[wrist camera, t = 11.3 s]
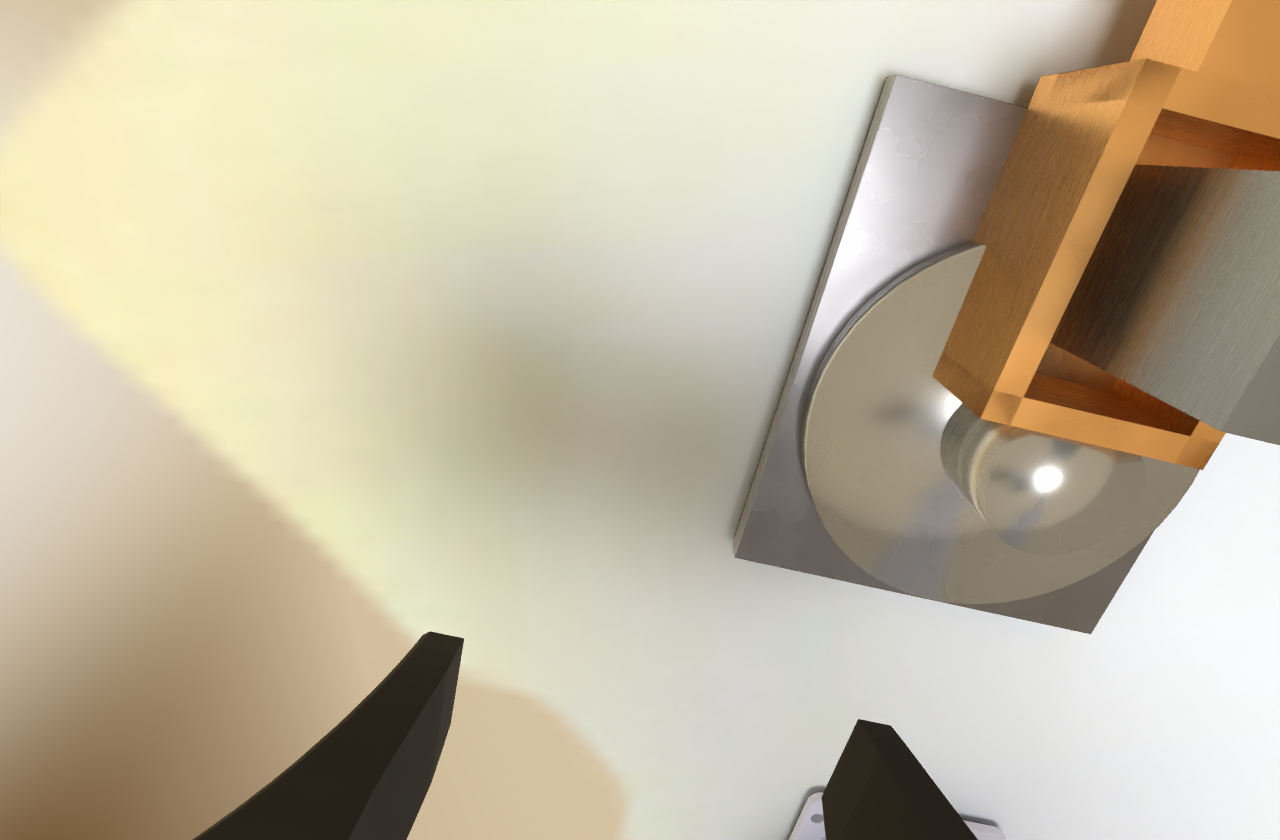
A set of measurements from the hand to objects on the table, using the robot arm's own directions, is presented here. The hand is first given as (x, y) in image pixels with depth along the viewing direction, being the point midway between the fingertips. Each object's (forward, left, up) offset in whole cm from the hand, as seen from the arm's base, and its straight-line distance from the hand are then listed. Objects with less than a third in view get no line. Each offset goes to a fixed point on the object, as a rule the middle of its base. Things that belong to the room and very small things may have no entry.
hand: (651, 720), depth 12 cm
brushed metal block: (+9, -9, -8) cm, 15 cm away
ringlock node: (+9, -9, -10) cm, 16 cm away
